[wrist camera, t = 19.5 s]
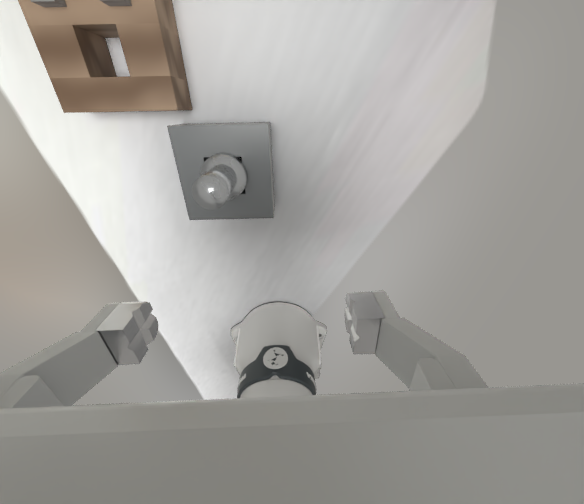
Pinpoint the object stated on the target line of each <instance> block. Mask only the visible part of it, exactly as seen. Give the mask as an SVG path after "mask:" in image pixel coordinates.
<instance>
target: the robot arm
mask: <svg viewBox="0 0 584 504" xmlns="http://www.w3.org/2000/svg"><path fill="white" fill-rule="evenodd" d="M346 304H347V307H346V309H345V325H346V329H347V332H348V333H349V334H350V344H351V347H352V350H353V354H375V355H376V356H377V357H378V358H379V359H380V360H381V361H382V362H383V363H384V364H385V365H386V366H387V367H388V368H389V369H390V370H391V371H392V372H393V373H394V374H395V375H396V376H397V377H398V378H399V379H400V380H401V381H402V382H403V383H404V384H405V385H406V386H407V387H408V388H409V391H399V392H375V393H351V394H329V395H316V384H315V378H319V376H320V369H321V352H320V350H321V347H322V345H323V342H324V339H325V336H326V333H327V327H326V326H325V325H324V324H323V323H321V322H318V321H316V320H315V319H314V318H312V316H311V315H310V314H309V313H308V312H307V311H305V310H304V309H302V308H301V307H299V306H296V305H293V304H289V303H282V302H275V303H268V304H264V305H261V306H259V307H257V308H255V309H254V310H252V311H251V312H250V313H249V314H248V315H247V316H246V317H245V319H244V320H243V321H242V322H241V323H239V324H237V325H236V326H234V327H233V328H232V329H231V336H232V338H233V341H234V343H235V345H236V352H235V359H234V367H236V369H237V371H238V373H239V374H240V381H239V384H238V390H237V391H238V392H237V393H238V395H237V398H235V399H212V400H191V401H190V400H189V401H165V402H143V403H119V404H96V405H73V404H74V403H75V402H76V401H77V400H78V399H80V398H81V397H82V396H83V395H84V394H86V393H87V392H88V391H89V390H90V389H92V388H93V387H94V386H95V385H96V384H98V383H99V382H100V381H101V380H102V379H103V378H104V377H106V376H107V375H108V374H109V373H111V372H112V371H113V370H114V369H115V368H116V367H118V365H127V364H140V362H141V361H142V359H143V357H144V356H145V354H146V352H147V350H148V347H147V345H148V344H149V343H150V342H152V341H153V340H154V339H155V337H156V335H157V331H158V321H157V319H156V317H155V316H153V315H152V314H151V312H152V310H153V309H152V307H151V305H150V303H148V302H122V303H121V302H119V303H109V304H107V305H105V307H103V309H102V310H101V311H100V312H99V313H98V314H97V315H96V316H95V317H94V318H93V319H92V320H91V321H90V322H89V323H88V324H87V325H86V326H85V327H84V328H83V329H82V330H81V331H80V332H76V333H74V334H72V335H70V336H68V337H66V338H64V339H62V340H61V341H59V342H57V343H55V344H53V345H51V346H49V347H48V348H46V349H44V350H42V351H41V352H38V353H37V354H35V355H33V356H31V357H29V358H27V359H25V360H24V361H22V362H20V363H18V364H16V365H14V366H12V367H11V368H9V369H7V370H5V371H3V372H1V373H0V504H584V383H583V384H560V385H537V386H517V387H516V386H515V387H495V388H494V387H492V388H489V387H488V386H487V385H486V383H485V382H484V381H483V379H482V378H481V377H480V375H479V374H478V372H477V371H476V370H475V369H474V367H473V366H472V364H471V363H470V362H469V360H468V359H467V358H466V356H465V355H463V354H461V353H460V352H458V351H456V350H455V349H453V348H452V347H450V346H448V345H447V344H445V343H444V342H442V341H441V340H439V339H437V338H436V337H434V336H433V335H431V334H429V333H428V332H426V331H424V330H423V329H421V328H420V327H418V326H416V325H415V324H413V323H412V322H410V321H408V320H407V319H405V318H400V317H399V315H398V313H397V311H396V310H395V308H394V306H393V304H392V303H391V301H390V299H389V297H388V296H387V294H386V292H385V291H383V290H381V291H371V292H354V293H353V292H352V293H347V294H346ZM72 405H73V406H72Z"/></svg>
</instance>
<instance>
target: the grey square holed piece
mask: <svg viewBox="0 0 584 504" xmlns="http://www.w3.org/2000/svg"><path fill="white" fill-rule="evenodd" d="M167 127H168V131H169V135H170V140H171V144H172V148H173V152H174V157H175V161H176V165H177V169H178V173H179V178H180V182H181V186H182V190H183V194H184V199H185V203H186V207H187V211H188V216H189V220H208V219H247V218H273V217H274V209H275V200H274V181H273V163H272V145H271V126H270V122H254V123H208V124H180V125H172V126H167ZM218 153H227V154H230V155H233V156H235V157H242V164H243V165H244V167H245V169H246V172H247V184H246V186H245V188H244V190H243V192H242V193H241V194H240V195H239V196H238V197H237V198H235V199H232V200H226V201H225V203H224V204H223V205H222V206H221V207H220V208H218V209H214V210H210V209H205V208H203V207H201V206H200V205H199V204H198V203H197V202H196V201H195V199H194V197H193V195H192V186H193V184H194V182H195V181H196V180H197V179H198V178H200V171H201V167H202V165H203V163H204V162H205V161H206V160H207V159H208V158H210V157H211V156H213V155H215V154H218Z"/></svg>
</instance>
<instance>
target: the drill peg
mask: <svg viewBox="0 0 584 504" xmlns="http://www.w3.org/2000/svg"><path fill="white" fill-rule="evenodd" d="M246 184H247V172H246V169H245V167H244V165H243V164H242V160H241V159H240V158H239V157H235V156H233V155H230V154H227V153H218V154H215V155H213V156H211V157H210V158H208V159H207V160H206V161H205V162H204V163H203V165H202V167H201V171H200V178H198V179H197V180H196V181H195V182H194V184H193V186H192V195H193V197H194V199H195V201H196V202H197V203H198V204H199V205H200V206H201V207H203V208H205V209H210V210H214V209H218V208H220V207H221V206H222V205H223V204H224V203H225V201H226V200H232V199H235V198H237V197H238V196H239V195H240V194H241V193H242V192H243V190H244V188H245V186H246Z"/></svg>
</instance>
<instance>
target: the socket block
mask: <svg viewBox="0 0 584 504" xmlns="http://www.w3.org/2000/svg"><path fill="white" fill-rule="evenodd" d="M18 2H19V4H20V6H21V9H22V11H23V14H24V16H25V19H26V21H27V24H28V26H29V28H30V31H31V33H32V36H33V38H34V41H35V43H36V45H37V48H38V50H39V53H40V55H41V58H42V60H43V63H44V65H45V67H46V70H47V72H48V75H49V77H50V80H51V82H52V84H53V87H54V89H55V92H56V94H57V97H58V99H59V102H60V104H61V106H62V109H63V111H64V113H66V112H126V111H173V110H192V106H191V100H190V95H189V90H188V84H187V79H186V74H185V68H184V63H183V58H182V52H181V47H180V42H179V36H178V31H177V26H176V20H175V15H174V10H173V4H172V0H18ZM105 38H120V41H121V45H122V48H123V52H124V55H125V59H126V63H127V66H128V70H129V73H130V77H116V73H115V70H114V67H113V63H112V60H111V57H110V53H109V50H108V47H107V43H106V40H105Z"/></svg>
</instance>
